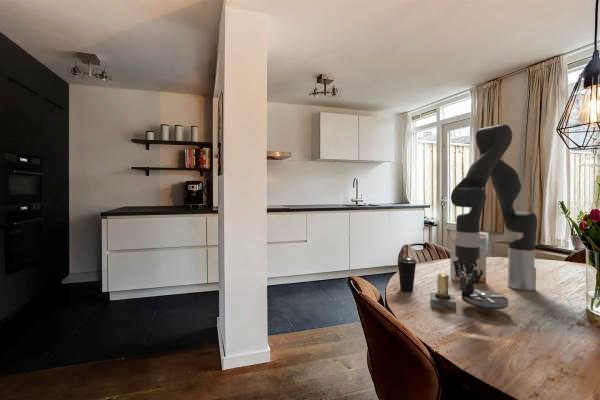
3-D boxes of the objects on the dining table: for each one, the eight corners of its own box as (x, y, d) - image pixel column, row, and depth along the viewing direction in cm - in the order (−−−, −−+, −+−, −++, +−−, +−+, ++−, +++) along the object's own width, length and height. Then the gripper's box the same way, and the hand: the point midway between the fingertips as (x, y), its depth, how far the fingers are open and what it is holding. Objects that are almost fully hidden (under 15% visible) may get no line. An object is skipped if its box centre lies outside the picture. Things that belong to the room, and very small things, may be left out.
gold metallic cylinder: (447, 303, 110) (448, 274, 110) (448, 307, 107) (449, 277, 106) (437, 302, 112) (437, 273, 111) (437, 305, 108) (438, 276, 108)
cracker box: (479, 278, 143) (480, 235, 142) (486, 282, 137) (487, 237, 136) (449, 278, 144) (450, 235, 143) (454, 282, 138) (455, 237, 137)
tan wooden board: (499, 307, 109) (499, 297, 108) (510, 325, 95) (510, 313, 95) (430, 299, 117) (430, 289, 117) (431, 314, 103) (431, 303, 103)
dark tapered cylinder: (407, 296, 120) (407, 247, 119) (393, 291, 127) (393, 244, 126) (420, 293, 124) (420, 245, 123) (406, 288, 130) (406, 242, 130)
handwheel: (494, 294, 110) (494, 274, 110) (517, 309, 96) (518, 286, 96) (453, 293, 112) (454, 273, 112) (471, 308, 98) (471, 285, 98)
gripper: (491, 248, 97) (490, 300, 98) (465, 240, 111) (464, 285, 112) (469, 248, 97) (468, 300, 98) (446, 240, 111) (445, 286, 112)
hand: (466, 292), depth 105 cm, fingers closed on handwheel, 2 cm apart
